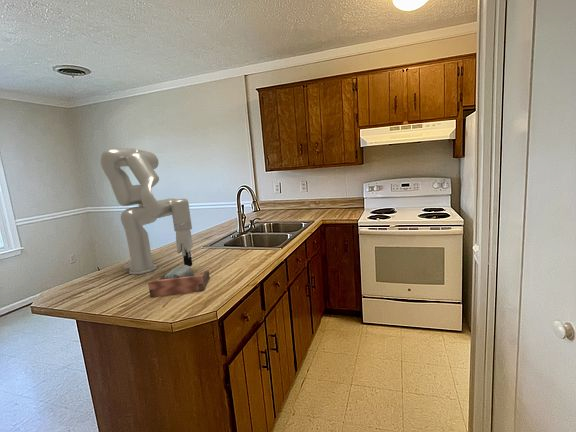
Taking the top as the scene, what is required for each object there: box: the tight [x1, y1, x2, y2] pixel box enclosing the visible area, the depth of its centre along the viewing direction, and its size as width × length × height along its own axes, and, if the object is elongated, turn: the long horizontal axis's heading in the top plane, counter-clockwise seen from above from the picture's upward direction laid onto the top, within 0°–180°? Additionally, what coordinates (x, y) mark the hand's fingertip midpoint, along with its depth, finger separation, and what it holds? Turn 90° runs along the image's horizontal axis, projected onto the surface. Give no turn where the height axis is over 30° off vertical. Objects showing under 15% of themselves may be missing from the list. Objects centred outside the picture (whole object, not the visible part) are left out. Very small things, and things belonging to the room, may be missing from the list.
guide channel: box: [147, 270, 211, 298], centre depth 129 cm, size 20×15×6 cm
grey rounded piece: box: [164, 264, 195, 279], centre depth 129 cm, size 14×10×10 cm
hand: (188, 265), depth 144 cm, fingers closed
